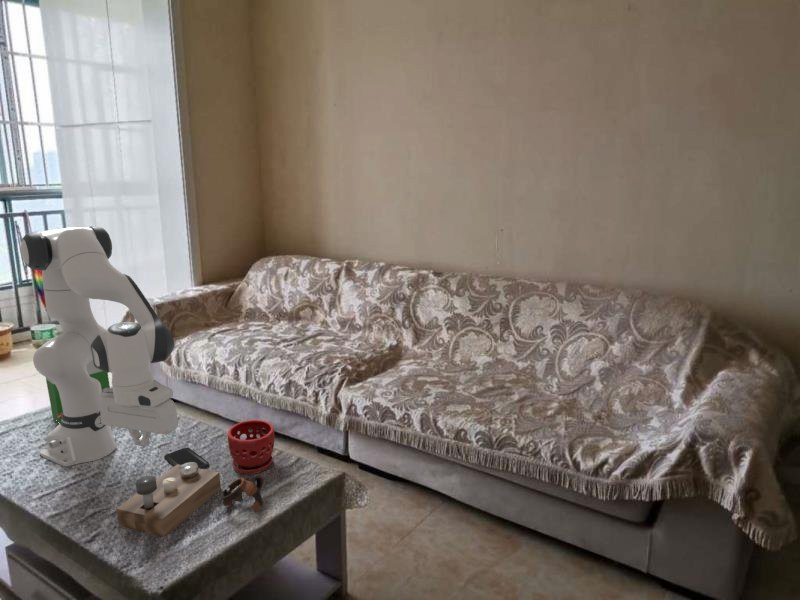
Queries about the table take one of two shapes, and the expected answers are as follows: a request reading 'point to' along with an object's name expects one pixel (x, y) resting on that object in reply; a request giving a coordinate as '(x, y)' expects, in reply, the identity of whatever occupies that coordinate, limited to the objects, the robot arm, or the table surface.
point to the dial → (169, 485)
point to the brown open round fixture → (246, 487)
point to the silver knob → (189, 470)
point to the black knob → (146, 489)
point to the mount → (169, 503)
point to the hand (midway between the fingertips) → (142, 444)
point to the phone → (185, 458)
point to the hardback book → (55, 396)
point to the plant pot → (251, 446)
